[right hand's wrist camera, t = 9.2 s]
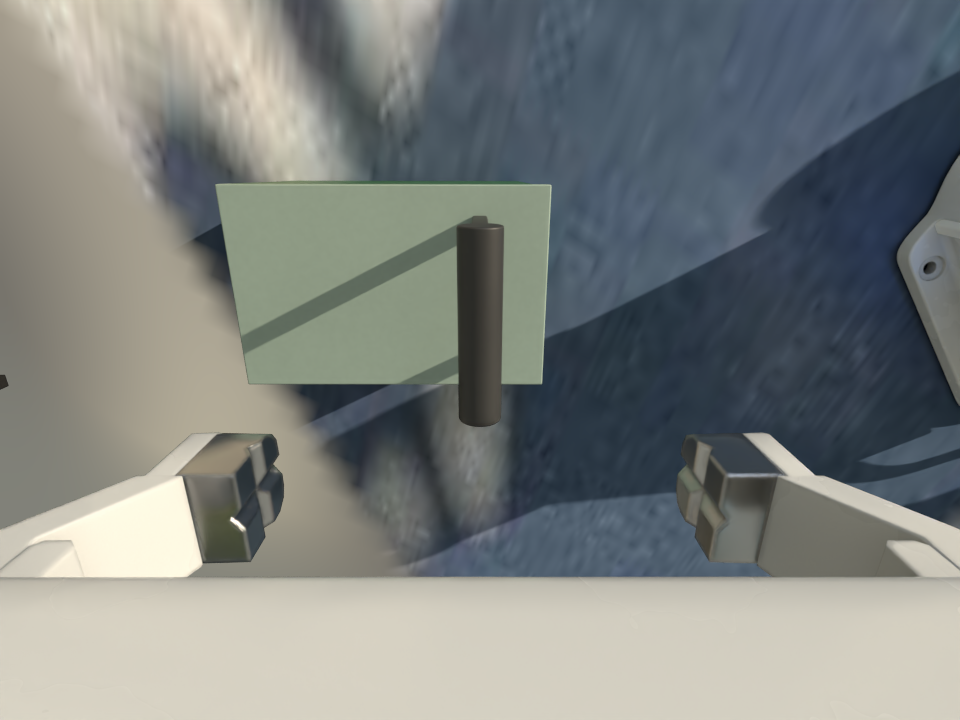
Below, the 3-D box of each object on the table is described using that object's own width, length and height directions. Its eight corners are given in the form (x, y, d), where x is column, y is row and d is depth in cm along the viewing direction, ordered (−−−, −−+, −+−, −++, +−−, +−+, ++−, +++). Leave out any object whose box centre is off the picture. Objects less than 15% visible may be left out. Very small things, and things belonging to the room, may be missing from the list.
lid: (548, 184, 24) (580, 189, 17) (539, 376, 28) (563, 454, 20) (225, 183, 24) (108, 188, 17) (257, 376, 28) (171, 454, 20)
